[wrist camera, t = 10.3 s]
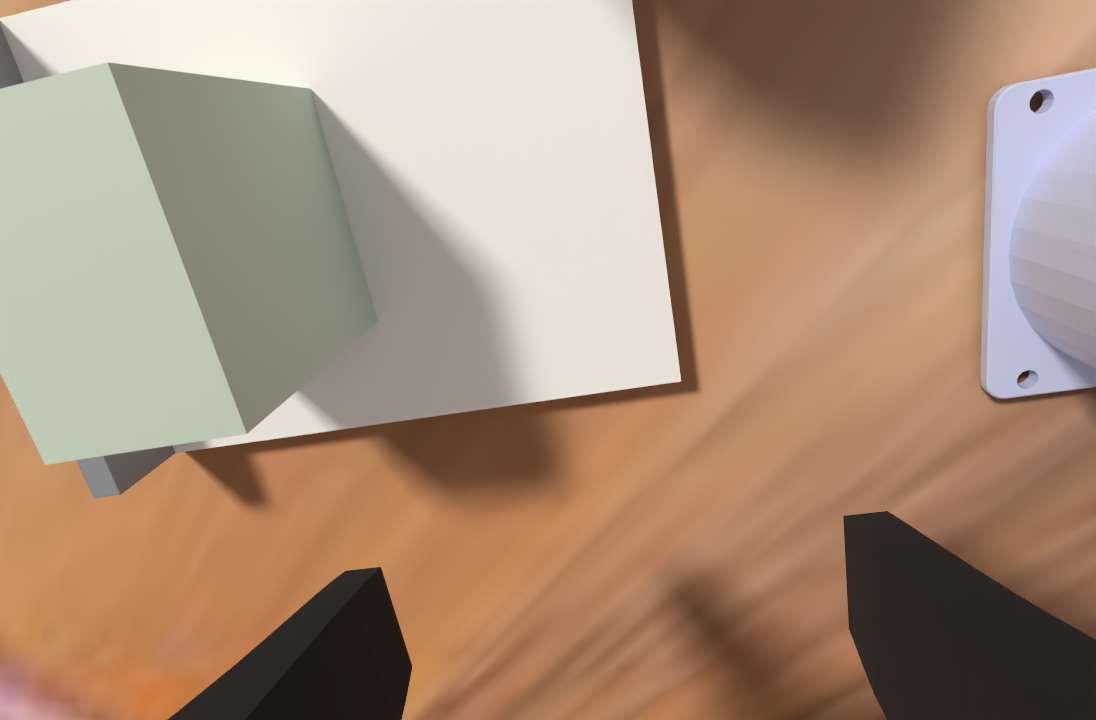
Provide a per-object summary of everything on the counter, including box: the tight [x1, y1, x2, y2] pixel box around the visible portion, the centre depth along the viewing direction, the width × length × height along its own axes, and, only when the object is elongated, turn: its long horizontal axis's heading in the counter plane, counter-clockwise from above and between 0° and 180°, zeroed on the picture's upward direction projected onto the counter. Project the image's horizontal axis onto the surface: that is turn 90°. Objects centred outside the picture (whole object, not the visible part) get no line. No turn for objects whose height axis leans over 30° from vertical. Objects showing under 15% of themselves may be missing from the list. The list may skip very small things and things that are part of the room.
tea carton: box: [0, 62, 378, 465], centre depth 14 cm, size 4×6×7 cm
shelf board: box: [0, 0, 681, 498], centre depth 16 cm, size 16×12×3 cm
